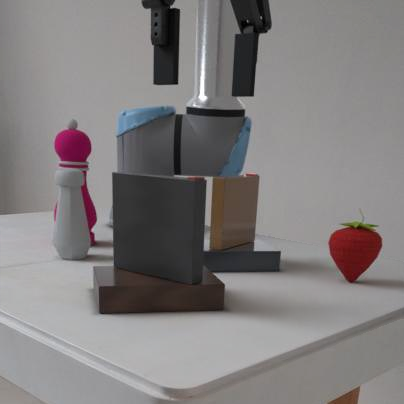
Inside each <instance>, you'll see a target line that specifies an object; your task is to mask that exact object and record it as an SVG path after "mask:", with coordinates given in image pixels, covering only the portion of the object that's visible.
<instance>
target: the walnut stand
mask: <svg viewBox="0 0 404 404" xmlns="http://www.w3.org/2000/svg"><path fill="white" fill-rule="evenodd" d="M92 278H93V279H92V281H93V282H92V283H93V293H94V296H95V301H96V305H97V309H98V313H99V314H121V313H122V314H125V313H157V312H158V313H161V312H163V313H164V312H192V311H193V312H194V311H195V312H196V311H224V309H225V295H226V294H225V293H226V284H225V283H224V282H223V281H222V280H221V279H220V278H218V276H217V275H215V274H214V272H211V271H210V270H209V269H208V268H207V267H205V266H204V265H203V278H202V282H200V283H196V284H192V285H191V284H186V283H182V282H177V281H173V280H169V279H164V278H160V277H155V276H151V275H146V274H142V273H138V272H133V271H129V270H124V269H120V268H115V267H114V265H93V266H92Z"/></svg>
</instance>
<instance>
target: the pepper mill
mask: <svg viewBox="0 0 404 404" xmlns="http://www.w3.org/2000/svg"><path fill="white" fill-rule="evenodd" d="M78 126H79V124H78V121H77V120H76V119H74V118H70V119H68V120H67V121H66V127H67V129H63V130H61V131H59V132H58V133H57V134H56V136H55V137H54V142H53V149H54V152H55V154H56V155H57V156H58V157H59V160H58V161H57V164H58V167H57V168H58V170H59V169H64V168H70V169H79V170H81V171H82V172H83V173H84V185H83V186H81V191H82V196H83V202H84V207H85V212H86V217H87V223H88V228H89V233H90V238H91V246H92V245H94V244H95V243H96V237H95V232H93V231H92V229H94V227H95V225H96V224H97V222H98V215H97V210H96V206H95V205H94V201H93V200H92V197H91V195H90V191H89V189H88V188H89V187H88V181H87V175H88V173H87V172H88V171H89V170H90V168H89V164H90V162H89V161H87V160H88V158H89V157H90V155H91V153H92V149H93V148H92V141H91V139H90V137H89V136H88V135H87V134H86V132H84V131H82V130H80V129H78ZM57 204H58V200H57V201H56V204H55V207H54V211H53V220H54V222H55V220H56V212H57Z"/></svg>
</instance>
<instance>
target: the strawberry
mask: <svg viewBox="0 0 404 404" xmlns="http://www.w3.org/2000/svg"><path fill="white" fill-rule="evenodd" d="M359 212H360V214H361V216H362V218H363V219H362V220H361V222H360V221H353V222H342V223H340V222H339V224H338V225H341V226H345V227H342V228H339V229H336V230H335V231H334V232H332V233H331V234H330V237H329V239H328V243H327V244H328V250H329V254H330V257H331V258H332V261H333V262H334V264H335V265H336V267H337V269H338V270H339V271H340V273H341V274H342V276H343V278H344V279H345V280H346V281H347V282H349V283H353V282H355V281H357V280H358V279H359V277H361V276H362V274H364V273H365V272H366V271H367V270H368V269H369V268H370V267H371V265H373V264H374V262H375V261H376V260H377V259H378V257H379V254H380V253H381V250H382V248H383V238H382V236H381V235H380V233H379V232H378V231H377V230H376V229H374V228H378V227H380V225H377V224H371V223H363V222H364V220H365V216H364V214H363V212H362V210H361V208H359Z"/></svg>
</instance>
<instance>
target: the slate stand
mask: <svg viewBox="0 0 404 404" xmlns="http://www.w3.org/2000/svg"><path fill="white" fill-rule="evenodd" d="M209 245H210V238H204V255H203V265H204V266H205V267H207V268H208V269H209V270H210V271H211V272H212V273H217V272H218V273H219V272H220V273H221V272H223V273H225V272H279V271H280V268H281V256H282V251H281V250H279V248H276V247H275V246H272V245H270V244H268V243H267V242H265V241H263V240H261V239H259V238H257V239H256V238H255V241H252V242H249V243H245V244H241V245H238V246H234V247H231V248H227V249H223V250H216V249H210V248H209Z"/></svg>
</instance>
